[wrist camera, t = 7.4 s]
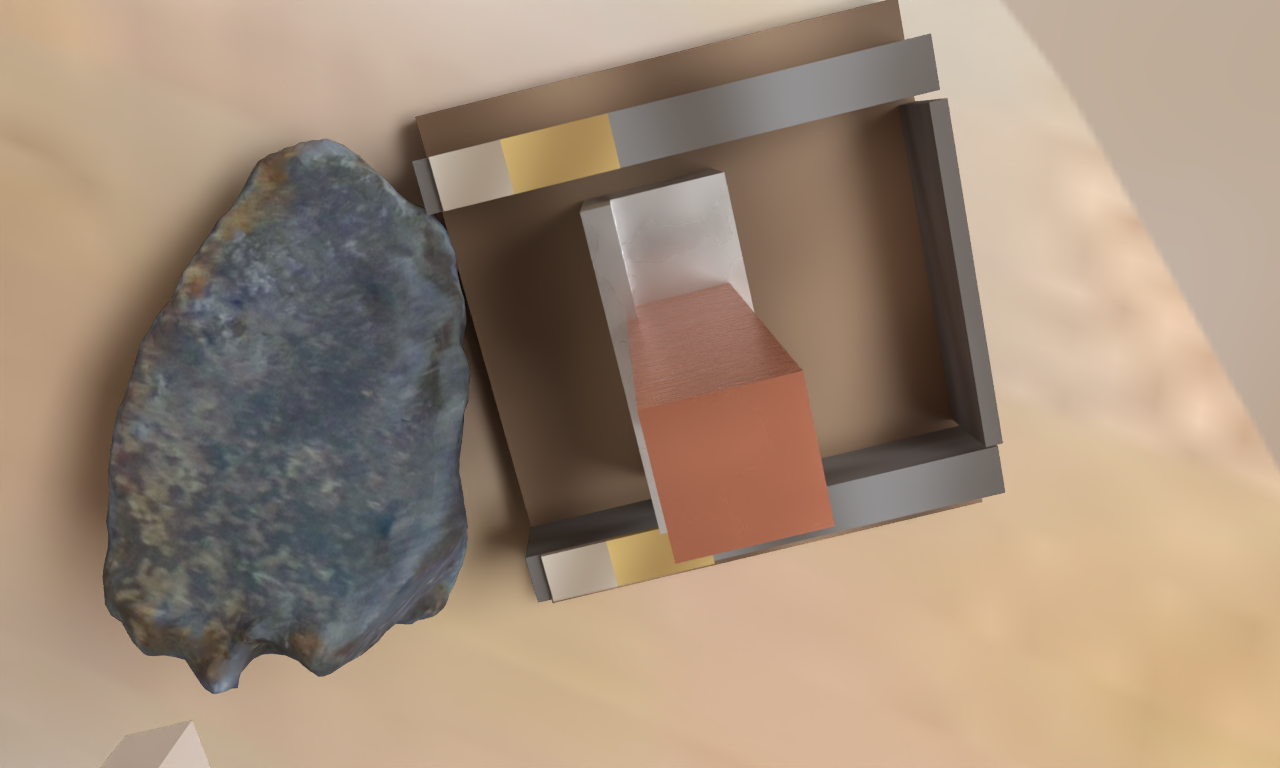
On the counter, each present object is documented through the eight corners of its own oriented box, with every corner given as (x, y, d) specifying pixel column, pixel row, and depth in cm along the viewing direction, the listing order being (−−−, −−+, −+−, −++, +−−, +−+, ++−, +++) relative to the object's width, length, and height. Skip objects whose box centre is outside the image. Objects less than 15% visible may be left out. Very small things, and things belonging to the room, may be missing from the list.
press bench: (554, 587, 35) (547, 646, 31) (422, 117, 32) (395, 115, 28) (969, 489, 35) (1018, 536, 31) (886, 2, 31) (928, -18, 27)
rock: (190, 622, 35) (467, 699, 34) (30, 648, 27) (385, 750, 26) (317, 195, 37) (584, 254, 36) (201, 101, 29) (541, 173, 28)
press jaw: (652, 476, 33) (685, 711, 20) (583, 200, 31) (567, 251, 18) (773, 446, 33) (890, 664, 20) (712, 168, 31) (797, 195, 18)
